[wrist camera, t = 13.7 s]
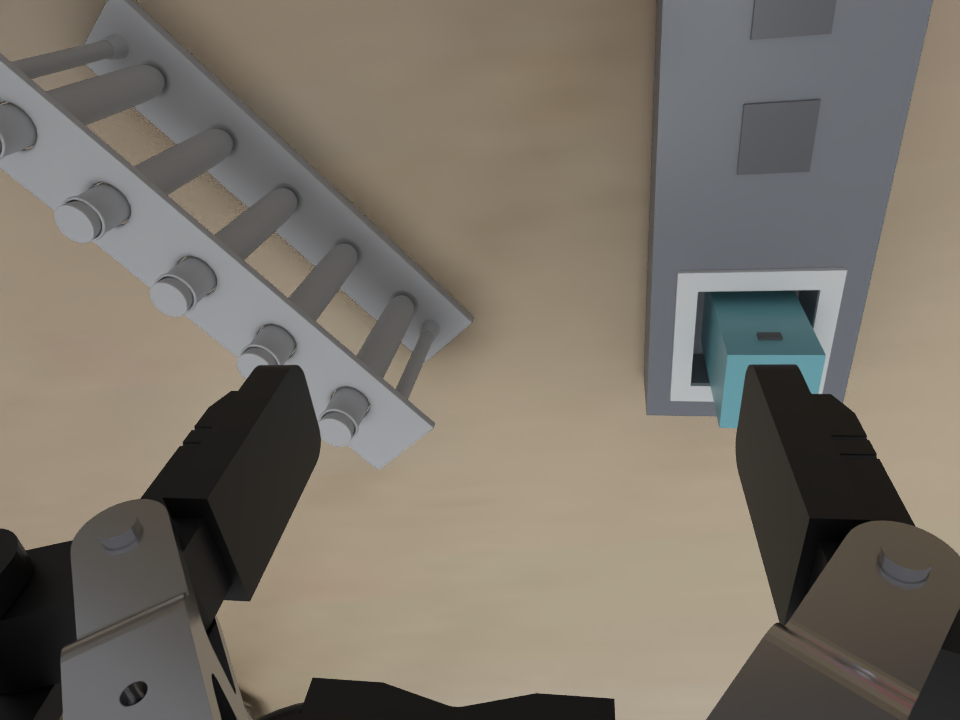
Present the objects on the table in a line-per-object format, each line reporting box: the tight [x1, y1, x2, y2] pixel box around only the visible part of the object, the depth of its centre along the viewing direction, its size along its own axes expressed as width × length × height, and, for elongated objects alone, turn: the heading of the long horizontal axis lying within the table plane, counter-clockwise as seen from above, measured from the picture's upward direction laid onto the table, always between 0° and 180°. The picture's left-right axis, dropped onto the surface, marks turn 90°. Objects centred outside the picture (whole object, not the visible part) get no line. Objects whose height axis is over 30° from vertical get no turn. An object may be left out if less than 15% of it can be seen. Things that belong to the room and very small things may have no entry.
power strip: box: [644, 0, 933, 416], centre depth 33 cm, size 10×24×4 cm, turn 6°
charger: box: [701, 290, 826, 428], centre depth 34 cm, size 4×4×8 cm
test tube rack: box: [0, 0, 474, 470], centre depth 34 cm, size 25×4×13 cm, turn 46°
